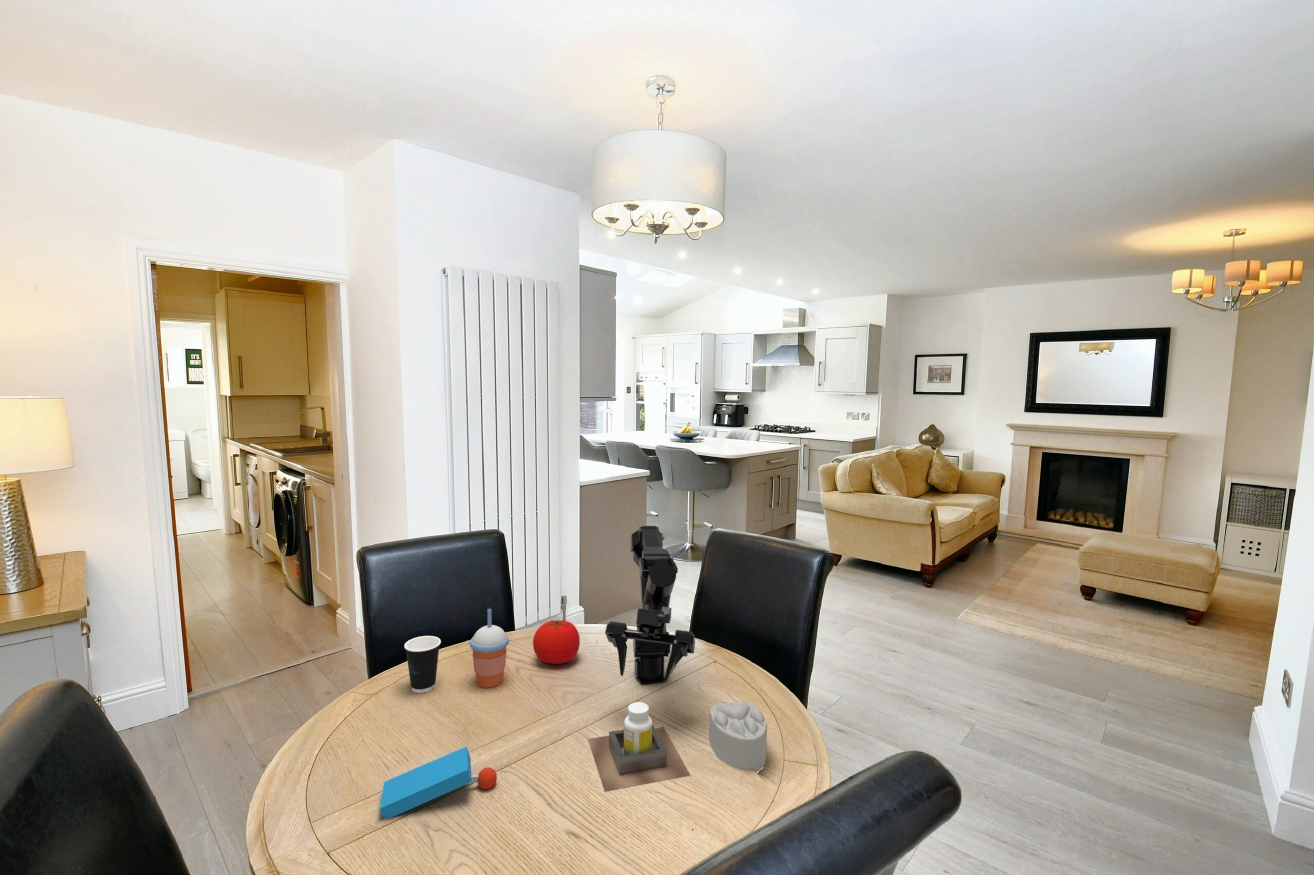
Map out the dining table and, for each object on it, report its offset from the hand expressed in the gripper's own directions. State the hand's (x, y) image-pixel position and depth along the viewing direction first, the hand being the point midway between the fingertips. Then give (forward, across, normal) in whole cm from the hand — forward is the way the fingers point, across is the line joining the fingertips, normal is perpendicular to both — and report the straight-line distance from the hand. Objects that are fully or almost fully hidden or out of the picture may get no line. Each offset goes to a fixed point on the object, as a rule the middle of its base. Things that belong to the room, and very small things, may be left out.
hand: (643, 678), depth 120 cm
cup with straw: (0, -40, +20) cm, 45 cm away
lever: (+27, -31, -8) cm, 41 cm away
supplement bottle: (+14, +1, +2) cm, 14 cm away
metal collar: (+14, +1, +2) cm, 14 cm away
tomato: (-10, -28, +30) cm, 42 cm away
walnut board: (+15, +1, +3) cm, 15 cm away
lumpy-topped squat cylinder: (+10, +20, +7) cm, 24 cm away
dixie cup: (+5, -54, +16) cm, 56 cm away
